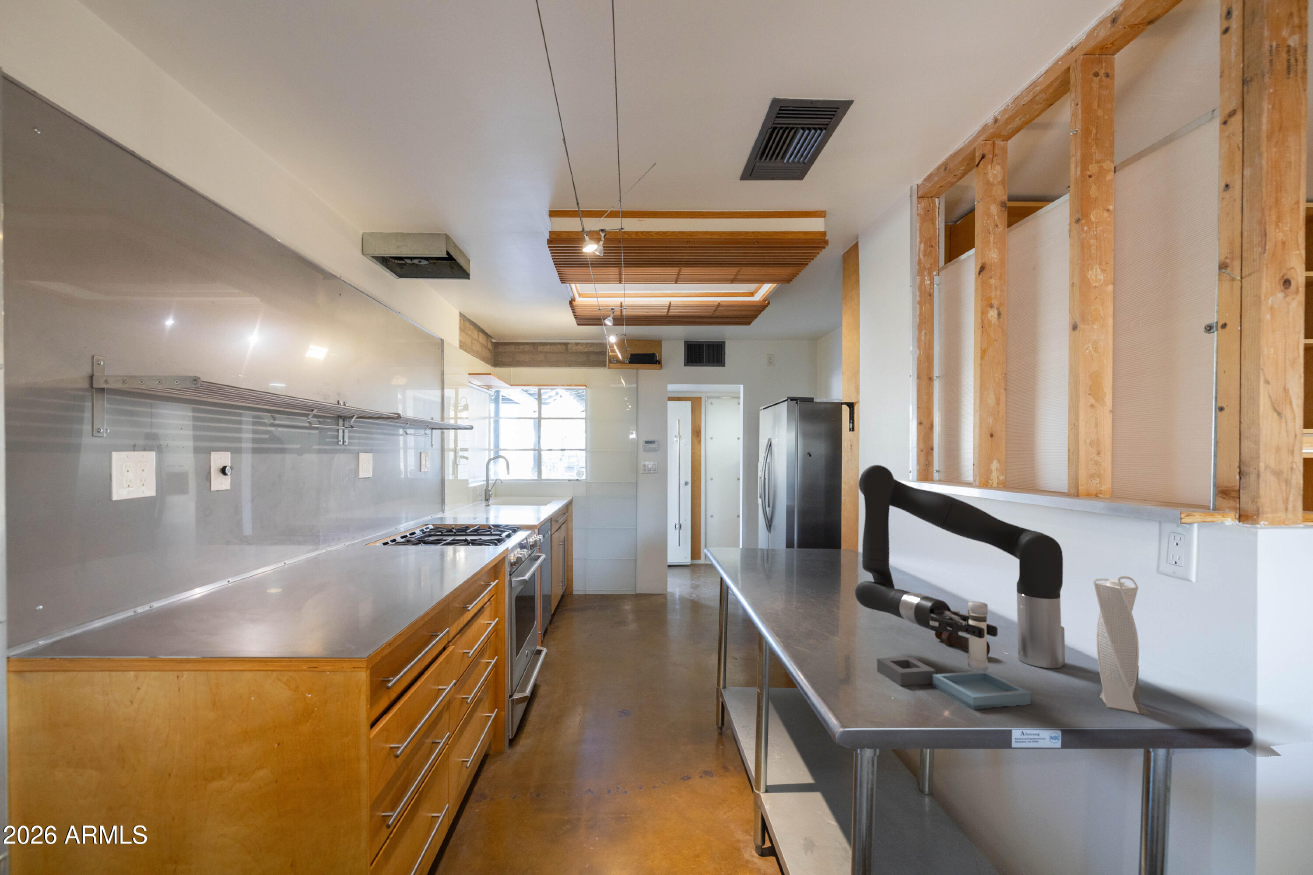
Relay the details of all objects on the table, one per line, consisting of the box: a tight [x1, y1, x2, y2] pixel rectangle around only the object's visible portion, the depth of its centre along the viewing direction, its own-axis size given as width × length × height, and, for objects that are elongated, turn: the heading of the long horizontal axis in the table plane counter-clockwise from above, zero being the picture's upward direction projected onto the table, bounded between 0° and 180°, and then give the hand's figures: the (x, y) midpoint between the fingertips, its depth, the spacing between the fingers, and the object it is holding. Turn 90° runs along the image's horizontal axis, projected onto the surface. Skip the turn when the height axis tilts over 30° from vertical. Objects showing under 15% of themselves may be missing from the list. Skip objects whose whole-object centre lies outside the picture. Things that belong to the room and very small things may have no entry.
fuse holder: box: [876, 655, 936, 687], centre depth 127 cm, size 9×9×3 cm
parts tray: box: [932, 670, 1031, 710], centre depth 118 cm, size 14×12×2 cm
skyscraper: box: [1093, 575, 1152, 716], centre depth 114 cm, size 8×8×28 cm
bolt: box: [934, 631, 991, 657], centre depth 148 cm, size 6×5×15 cm
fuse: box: [967, 600, 989, 671], centre depth 118 cm, size 4×4×14 cm
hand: (989, 632), depth 116 cm, fingers closed on fuse, 3 cm apart
